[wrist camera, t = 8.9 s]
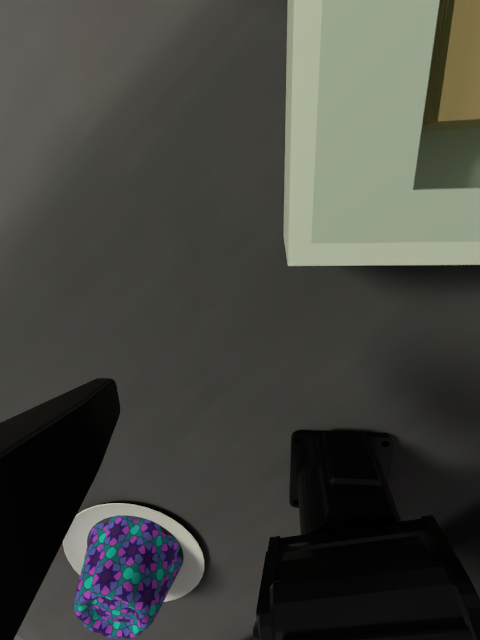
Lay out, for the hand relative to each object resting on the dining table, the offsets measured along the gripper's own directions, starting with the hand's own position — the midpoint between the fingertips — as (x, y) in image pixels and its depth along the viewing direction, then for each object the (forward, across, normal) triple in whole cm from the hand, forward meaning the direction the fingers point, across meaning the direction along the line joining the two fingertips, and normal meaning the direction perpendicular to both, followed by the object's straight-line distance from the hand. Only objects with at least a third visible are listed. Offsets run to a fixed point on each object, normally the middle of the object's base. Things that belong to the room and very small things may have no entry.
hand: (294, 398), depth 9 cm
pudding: (+13, +12, +24) cm, 30 cm away
